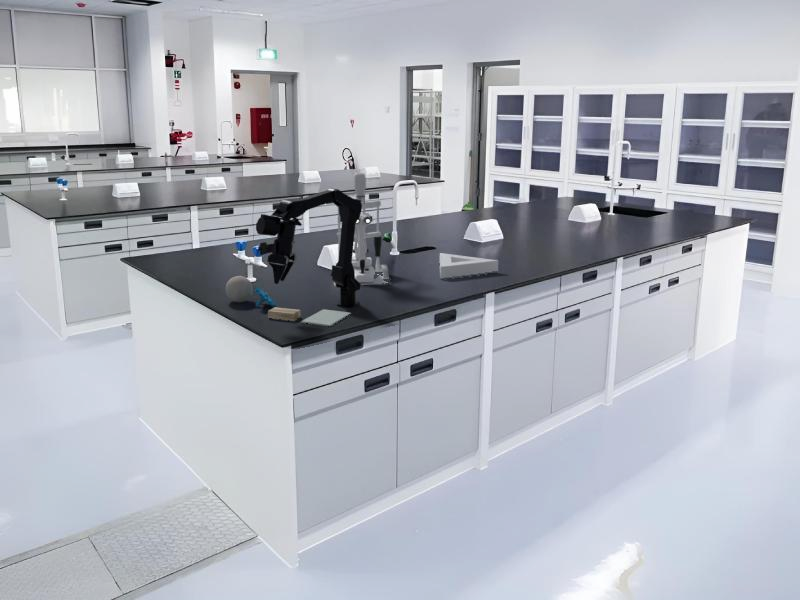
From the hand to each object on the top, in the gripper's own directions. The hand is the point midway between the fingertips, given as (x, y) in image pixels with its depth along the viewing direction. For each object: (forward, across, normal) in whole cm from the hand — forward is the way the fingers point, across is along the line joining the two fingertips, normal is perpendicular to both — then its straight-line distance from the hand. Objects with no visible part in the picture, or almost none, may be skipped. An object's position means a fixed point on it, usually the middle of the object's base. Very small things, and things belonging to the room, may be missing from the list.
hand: (279, 282), depth 239 cm
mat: (+10, -3, +18) cm, 21 cm away
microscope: (+2, -62, +23) cm, 66 cm away
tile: (+13, -3, +3) cm, 13 cm away
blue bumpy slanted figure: (+12, -17, -7) cm, 22 cm away
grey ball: (+13, -22, -18) cm, 31 cm away
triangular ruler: (-7, -78, +69) cm, 104 cm away
